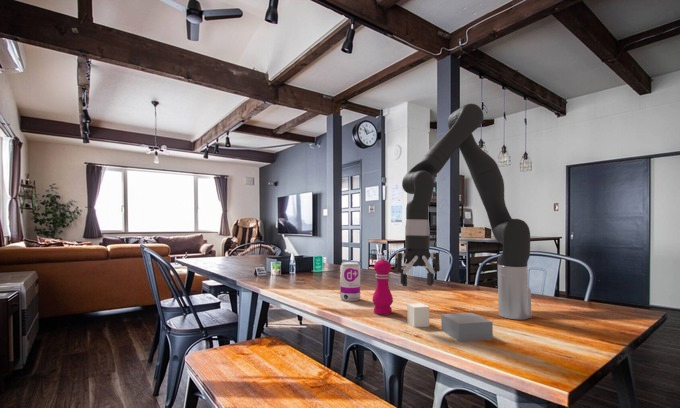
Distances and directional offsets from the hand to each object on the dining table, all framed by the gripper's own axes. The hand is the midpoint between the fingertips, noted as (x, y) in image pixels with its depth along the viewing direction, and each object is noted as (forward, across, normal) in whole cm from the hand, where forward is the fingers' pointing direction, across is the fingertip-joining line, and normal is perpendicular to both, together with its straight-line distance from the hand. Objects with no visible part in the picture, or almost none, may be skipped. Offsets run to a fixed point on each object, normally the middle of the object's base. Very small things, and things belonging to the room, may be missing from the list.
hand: (417, 285), depth 109 cm
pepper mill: (+12, +6, -16) cm, 21 cm away
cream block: (+12, 0, 0) cm, 12 cm away
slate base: (+12, -9, +12) cm, 20 cm away
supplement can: (+12, +12, -39) cm, 42 cm away
